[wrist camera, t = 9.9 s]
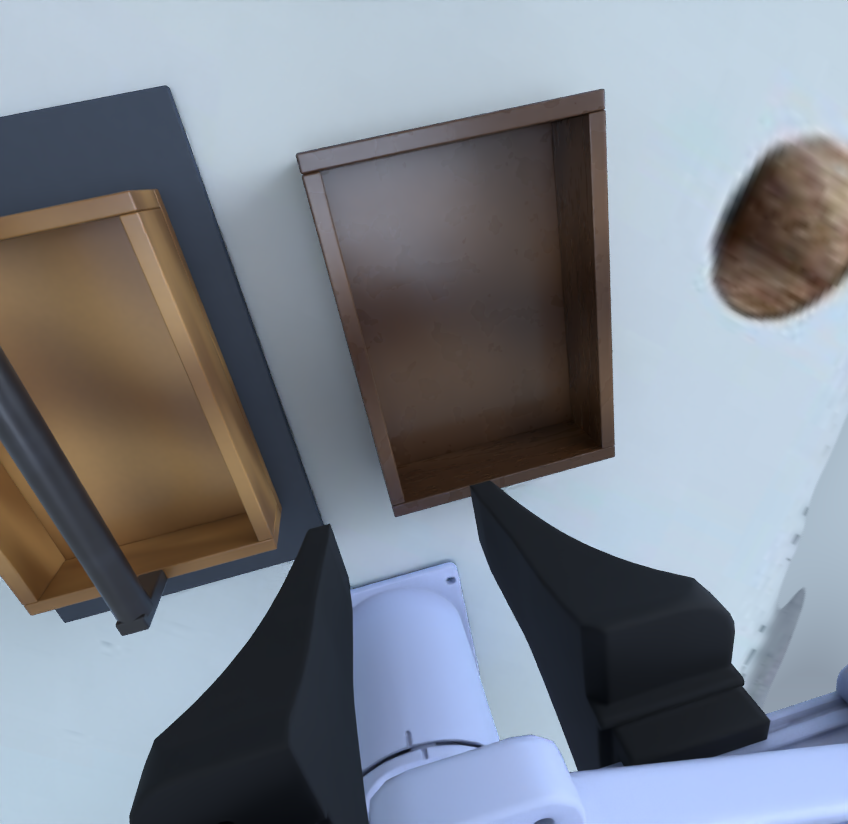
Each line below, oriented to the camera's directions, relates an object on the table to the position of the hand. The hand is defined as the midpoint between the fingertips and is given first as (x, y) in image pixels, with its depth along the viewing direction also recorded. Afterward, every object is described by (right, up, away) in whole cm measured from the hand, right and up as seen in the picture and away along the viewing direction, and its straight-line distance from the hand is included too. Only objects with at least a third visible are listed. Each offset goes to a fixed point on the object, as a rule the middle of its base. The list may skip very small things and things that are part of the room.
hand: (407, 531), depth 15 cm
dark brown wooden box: (+2, +8, +7) cm, 11 cm away
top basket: (-12, +4, +6) cm, 14 cm away
